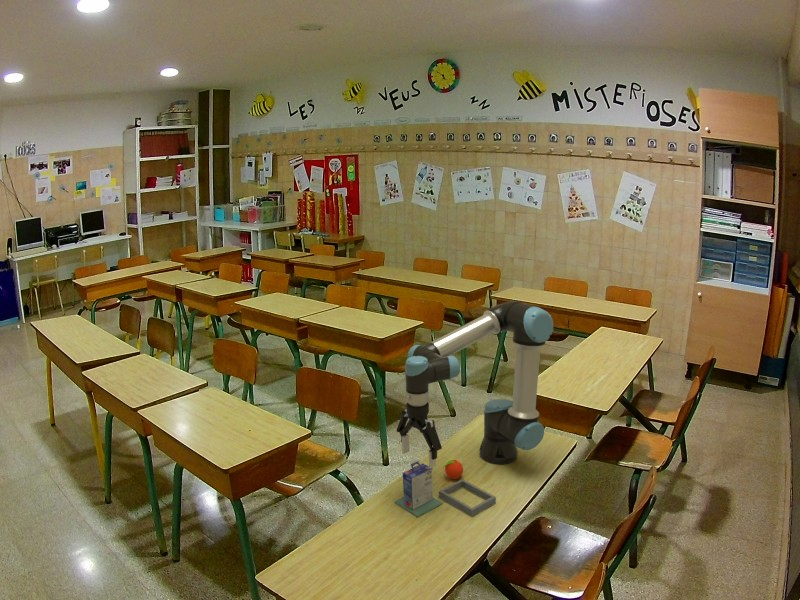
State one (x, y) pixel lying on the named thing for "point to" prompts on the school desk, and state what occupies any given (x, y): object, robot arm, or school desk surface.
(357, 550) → the school desk surface
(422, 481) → the ink cartridge box
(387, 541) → the school desk surface
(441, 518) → the school desk surface
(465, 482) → the grey rectangular frame
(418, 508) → the mat
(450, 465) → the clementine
